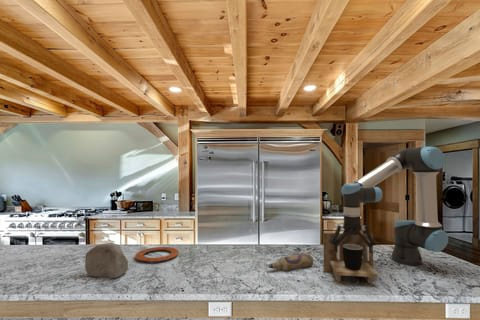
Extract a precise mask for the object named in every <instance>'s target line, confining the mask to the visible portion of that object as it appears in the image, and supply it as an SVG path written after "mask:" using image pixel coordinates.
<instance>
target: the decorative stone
mask: <svg viewBox="0 0 480 320" xmlns="http://www.w3.org/2000/svg"><path fill="white" fill-rule="evenodd" d="M84 259H85V260H84V265H85V266H84V267H85V268H84V269H85V272H86V273H87V275H88V276H89V277H94V278H97V277H98V278H109V279H117V278H119V277H121V276H122V275H124V274H125V273H126V272H128V270H129V266H128V265H129V261H128V260H129V259H128V258H127V257H126V256H125V253H123V251H122V248H121V246H120V245H119V244H117V243H115V242H105V243H101V244H97V245H95V246H93V247H92V248H90V249H89V250H88V251H87V252H86V254H85V258H84Z"/></svg>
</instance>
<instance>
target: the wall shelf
mask: <svg viewBox="0 0 480 320" xmlns="http://www.w3.org/2000/svg"><path fill="white" fill-rule="evenodd" d="M334 233H335V232H323V273H332V274H333V276H334V278H335V280H336V281H337V282H342V280H341V278H342V276H349V277H350V276H351V277H363V278H364V280H365V281H366V282H367V283H368V284H372V279H373V278H378V277H379V273H378V272H377V271H376V270H375V269H374V245H373V246H372V247H371V253H369V261H367V260H366V248H365V245H367V244H366V243H365V242H364V240H363V239H362V238H361V237H360V236H359V235H358V234H357V235H349V234H348V235H347V236H345V238H344V239H343V240H342V241H341V242H340V243H339V244H338V245H339V253H340V260H338V259H337V252H335V250H334V245H332V244H331V242H330V241H331V239H332V237H333V235H334ZM342 233H343V232H340V233H339V235H338V237H337V239H338V238H339V237H340V235H341V234H342ZM361 234H362V235H363V236H364V237H365V239H366V240H367V241H368V242H369V243H370V240H369V239H368V237H367V235H366V233H361ZM370 235H371V237H372V239H373V240H374V234H373V233H370ZM337 239H336V240H337ZM344 244H355V245H359V246H362V247H363V259H362V265H361V268H360V269H359V270H350V269H348V268H346V266H345V264H344V258H343V245H344Z"/></svg>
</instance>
